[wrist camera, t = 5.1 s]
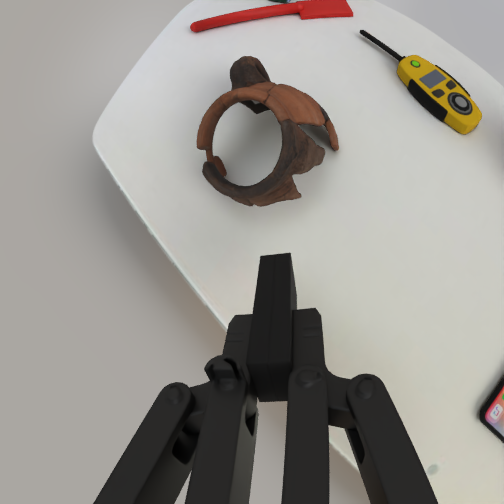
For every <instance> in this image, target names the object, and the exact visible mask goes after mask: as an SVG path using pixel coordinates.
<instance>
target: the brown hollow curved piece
mask: <svg viewBox="0 0 504 504" xmlns="http://www.w3.org/2000/svg"><path fill="white" fill-rule="evenodd" d="M230 79H231V82H232V90H231V91H229V92H227V93H225V94H223V95H222V96H220V97H219V98H218V99H217V100H216V101H215V102H214V103H213V104H212V105H211V106H210V107H209V109H208V110H207V112H206V113H205V115H204V117H203V118H202V121H201V124H200V126H199V130H198V135H197V148H198V149H200V150H206V156H207V161H206V162H205V163H204V164H203V170H202V172H203V175H204V176H205V178H206V180H207V181H208V182H209V183H210V184H211V185H212V186H213V187H214V188H215V189H216V190H217V191H219V192H220V193H222V194H224V195H226V196H229V197H231V198H232V199H233V200H235V201H237V202H239V203H242V204H244V205H247V206H253V205H254V204H255V205H257V206H260V207H262V206H267V205H270V204H273V203H276V202H280V201H285V200H293V199H297V198H301V194H300V193H299V192H298V191H297V188H296V185H295V183H294V181H293V178H292V175H293V174H303V173H305V172H308V171H309V170H311V169H312V168H313V167H314V166H317V165H320V164H321V163H322V161H323V158H324V155H325V150H324V148H322V147H320V146H318V145H316V144H315V142H314V141H313V140H312V139H311V138H310V137H309V136H308V135H306V133H305V132H304V131H303V130H302V129H301V128H300V127H299V126H298V125H302V124H310V125H314V126H322V125H324V126H325V128H326V129H327V131H328V134H329V139H330V145H331V146H332V147H333V149H334V150H335V151H337V150H338V149H339V145H338V138H337V134H336V132H335V129H334V126H333V124H332V122H331V121H330V118H329V117H328V115H327V113H326V112H325V110H324V109H323V108H322V107H321V106H320V105H319V104H318V103H317V102H316V101H315V100H314V99H313V98H312V97H310V96H309V95H307V94H306V93H303V92H301V91H299V90H297V89H296V88H294V87H291V86H288V85H284V84H278V85H276V84H275V83H272V82H271V81H270V79H269V76H268V74H267V72H266V70H265V68H264V67H263V65H262V64H261V62H260V61H259V60H258V59H257V58H254V57H251V56H244V57H241V58H240V59H239V60H237V61H235V62H234V63H233V65H232V67H231V69H230ZM238 102H239V103H242V104H244V105H246V106H247V107H248V108H250V109H251V110H252V111H254V113H256V114H259V113H261V112H264V111H267V110H271V111H272V112H273V113H274V115H275V117H276V118H277V120H278V122H279V124H280V125H281V132H282V149H281V153H280V157H279V160H278V162H277V164H276V166H275V167H274V169H273V171H272V173H270V174H269V175H268V176H267V177H266V178H265V179H263V180H262V181H260V182H259V183H257V184H254V185H251V186H239V185H236V184H233V183H231V182H229V181H228V180H226V179H225V178H224V176H226V174H227V172H226V169H225V167H224V165H223V163H222V160H221V159H220V158H219V157H218V156H213V152H212V142H213V135H214V131H215V128H216V125H217V123H218V121H219V119H220V117H221V116H222V114H223V113H224V112H225V111H226V110H227V109H228V108H229V107H230V106H232V105H234V104H235V103H238Z"/></svg>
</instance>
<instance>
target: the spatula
mask: <svg viewBox="0 0 504 504" xmlns="http://www.w3.org/2000/svg"><path fill="white" fill-rule="evenodd" d="M294 13H299V14H300V17H301V19H313V18H327V17H353V12H352V10H351V8H350V7H349V5H348V3H347V2H346V0H307V1H297V2H296V3H288V4H280V5H273V6H266V7H260V8H254V9H249V10H243V11H238V12H233V13H229V14H224V15H220V16H216V17H212V18H208V19H204V20H200V21H197V22H194V23H192V24H191V26H190V29H191V30H192V31H193V32H199V31H203V30H207V29H211V28H215V27H219V26H223V25H228V24H232V23H237V22H242V21H247V20H253V19H259V18H265V17H271V16H278V15H286V14H294Z"/></svg>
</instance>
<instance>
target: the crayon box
mask: <svg viewBox="0 0 504 504" xmlns="http://www.w3.org/2000/svg"><path fill="white" fill-rule="evenodd" d="M269 1H276V2H282V3H288V2H289V1H290V0H269Z"/></svg>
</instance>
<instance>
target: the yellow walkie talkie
mask: <svg viewBox="0 0 504 504" xmlns="http://www.w3.org/2000/svg"><path fill="white" fill-rule="evenodd" d="M360 33H361V34H362V35H363V36H365V37H366V38H368V39H369V40H371V41H372V42H373V43H375V44H376V45H378V46H379V47H381V48H382V49H383V50H385V51H386V52H388V53H389V54H390V55H392V56H393V57H394V58H396V59H397V60H398V61H399V65H398V69H397V74H398V76H399V77H400V79H401V80H402V81H403V82H404V84H405V85H406V86H407V87H408V90H409V91H410V92H411V94H412V95H413V96H414V97H415V98H416V99H417V100H418V101H419V102H420V103H421V104H422V105H423V106H424V107H425V108H426V109H427V110H429V111H430V112H431V113H432V114H433V115H434V116H436V117H437V118H438V119H440V120H441V121H442V122H443V121H444V122H446V123H447V124H448V125H449V126H451V127H452V128H453V129H455V130H456V131H458V132H459V133H461V134H467V133H469V132H470V131H472V130H473V129H474V128H475V127H476V126H477V125H478V123H479V122H480V120H481V118H482V113H481V111H480V110H479V108H478V107H477V105H476V104H475V103H474V101H473V100H472V99H471V98H470V95H469V93H468V92H467V91H466V90H465V89H464V88H463V87H462V86H461V85H460V84H459V83H458V82H457V81H456V80H455V79H454V78H453V77H452V76H451V75H449V74H448V73H447V72H446V71H444V70H443V69H441V68H440V67H438V66H437V65H433V64H432V63H430V62H429V61H427V60H425V59H423V58H421V57H420V56H417V55H411V56H408V57H405V56H403V57H401V56H400V55H399V54H397V53H396V52H395V51H393V50H392V49H390V48H389V47H388V46H386V45H385V44H383V43H382V42H381V41H379V40H378V39H376V38H375V37H373V36H372V35H370V34H369V33H367V32H366V31H364V30H360Z"/></svg>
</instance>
